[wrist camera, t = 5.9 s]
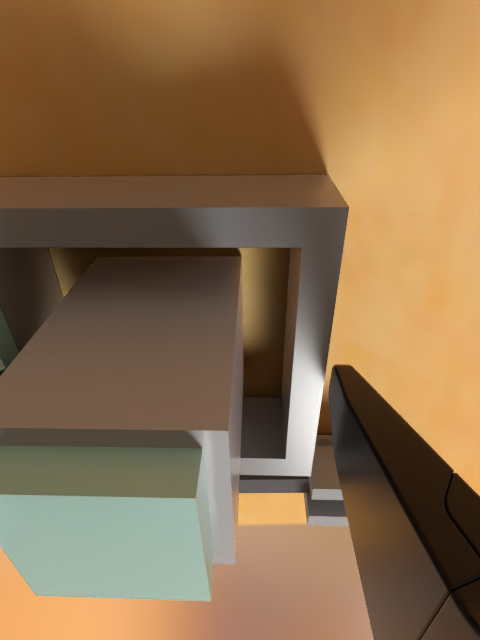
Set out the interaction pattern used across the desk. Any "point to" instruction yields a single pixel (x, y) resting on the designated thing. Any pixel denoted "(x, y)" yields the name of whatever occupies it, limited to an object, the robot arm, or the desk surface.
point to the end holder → (191, 232)
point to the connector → (127, 433)
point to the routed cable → (308, 486)
